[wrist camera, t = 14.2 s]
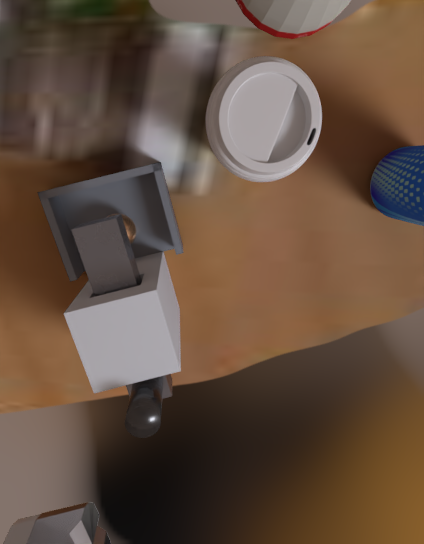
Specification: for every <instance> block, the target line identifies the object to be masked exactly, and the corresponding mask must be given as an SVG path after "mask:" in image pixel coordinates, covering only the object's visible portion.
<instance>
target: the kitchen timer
mask: <svg viewBox="0 0 424 544" xmlns="http://www.w3.org/2000/svg"><path fill="white" fill-rule="evenodd" d="M350 1H351V0H236V2H237V4H238V5H239V7H240V9H241V11H242V12H243V14H244V15H245V16H246V17H247V18H248V19H249V20H250V21H251V22H252V23H253V24H254V25H255V26H256V27H257V28H259V29H261V30H263V31H265V32H267V33H269V34H271V35H273V36H276V37H283V38H290V39H294V38H299V37H304V36H309V35H312V34H314V33H315V32H317V31H319V30H321V29H323V28H325V27H326V26H327V25H329V24H330V23H331V22H332V21H333V20H334V19H335V18H336V17H337V16H338V15H339V14H340V13H341V12H342V11H343V10H344V9H345V8H346V7H347V6H348V4H349V3H350Z"/></svg>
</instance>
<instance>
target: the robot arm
mask: <svg viewBox="0 0 424 544" xmlns="http://www.w3.org/2000/svg"><path fill="white" fill-rule="evenodd" d="M98 518H99V513H98V511H97V509H96V507H95V505H94V503H91V502H87V503H83V504H79V505H74V506H71V507H67V508H62V509H58V510H54V511H49V512H45V513H42V514H40V515H35V516H31V517H26V518H22V519H18V520H17V521H16V522H15V523H14V524H13V525H12V526H11V528H10V530H9V532H8V534H7V537H6V538H5V541H4V543H3V544H111V543H110V539H109V537H108V534H107V532H106V531H105V530H104V529H102V528H100V527H98V526H97V524H98Z"/></svg>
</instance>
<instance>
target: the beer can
mask: <svg viewBox="0 0 424 544" xmlns="http://www.w3.org/2000/svg"><path fill="white" fill-rule="evenodd" d="M370 192H371V197H372V200H373V203H374V204H375V206H376V208H377V209H378V210H379V211H380V212H381V213H383V214H384V215H386V216H388V217H391V218H394V219H398V220H402V221H406V222H410V223H414V224H418V225H422V226H424V145H423V146H408V147H402V148H398V149H396V150H394V151H392V152H390V153H389V154H387V155H386V156H385V157H384V158H383V159H382V160H381V161H380V162H379V164H378V165H377V167H376V168H375V170H374V172H373V175H372V178H371V184H370Z"/></svg>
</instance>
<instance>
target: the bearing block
mask: <svg viewBox="0 0 424 544" xmlns="http://www.w3.org/2000/svg"><path fill="white" fill-rule="evenodd" d="M135 261H136V264H137V267H138V270H139V274H140V277H141V280H142V283H141V285H139V286H135V287H131V288H127V289H123V290H119V291H115V292H111V293H107V294H103V295H100V296H96V297H95V296H94V293H93V290H92V287H91V284H90V282H89V280H88V282H87V283H86V284H85V286H84V287H83V288H82V290H81V291H80V292H79V294H78V295H77V296H76V298H75V299H74V300H73V302H72V303H71V304H70V306H69V307H68V308H67V310H66V311H65V312H64V316H65V319H66V321H67V324H68V326H69V329H70V332H71V334H72V337H73V339H74V342H75V345H76V347H77V350H78V352H79V355H80V358H81V360H82V363H83V366H84V368H85V371H86V373H87V376H88V379H89V381H90V384H91V386H92V389H93V392H94V393H98V392H102V391H105V390H109V389H113V388H117V387H121V386H125V385H129V384H133V383H137V382H140V381H144V380H148V379H152V378H156V377H160V376H164V375H168V374H171V373H175V372H179V371H181V362H180V309H179V305H178V302H177V298H176V295H175V291H174V288H173V284H172V281H171V277H170V273H169V270H168V266H167V263H166V259H165V256H164V252H159V253H155V254H151V255H147V256H143V257H139V258H135Z"/></svg>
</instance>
